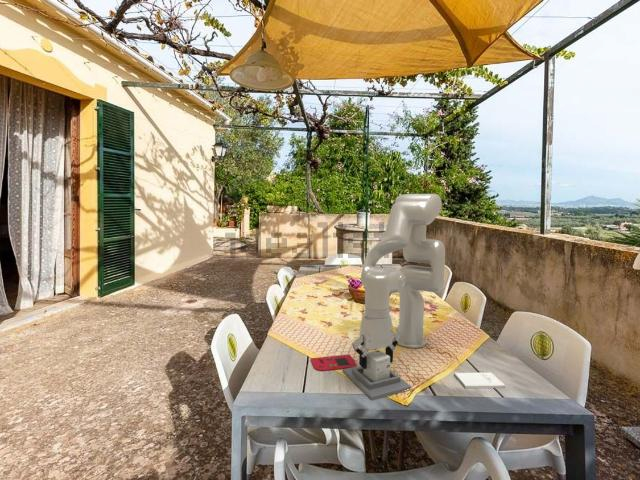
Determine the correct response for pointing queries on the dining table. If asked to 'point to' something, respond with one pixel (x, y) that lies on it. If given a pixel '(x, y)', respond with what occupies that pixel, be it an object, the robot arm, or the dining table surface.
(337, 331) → the dining table surface
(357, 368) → the charging dock
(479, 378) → the external hard drive
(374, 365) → the skincare box
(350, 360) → the handheld gaming console
